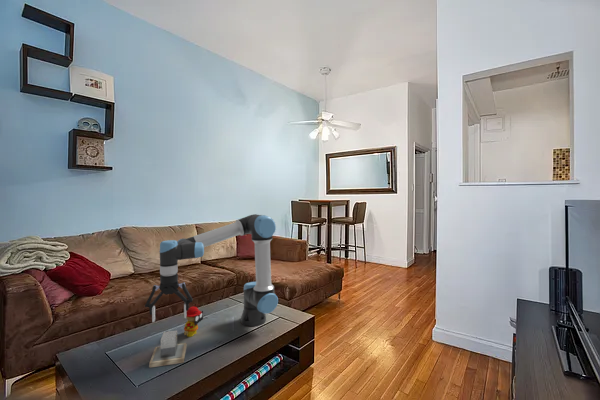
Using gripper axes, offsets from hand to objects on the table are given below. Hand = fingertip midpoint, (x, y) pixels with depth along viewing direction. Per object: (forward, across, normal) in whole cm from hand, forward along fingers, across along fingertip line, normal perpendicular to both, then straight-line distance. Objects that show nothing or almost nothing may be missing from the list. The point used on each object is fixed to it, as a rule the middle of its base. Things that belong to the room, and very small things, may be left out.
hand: (169, 319), depth 135 cm
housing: (+15, 0, 0) cm, 15 cm away
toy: (+18, -8, -20) cm, 28 cm away
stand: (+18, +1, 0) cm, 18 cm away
